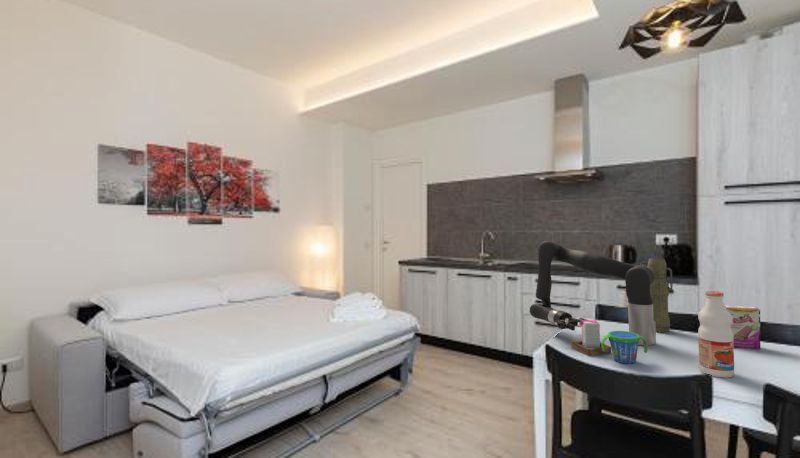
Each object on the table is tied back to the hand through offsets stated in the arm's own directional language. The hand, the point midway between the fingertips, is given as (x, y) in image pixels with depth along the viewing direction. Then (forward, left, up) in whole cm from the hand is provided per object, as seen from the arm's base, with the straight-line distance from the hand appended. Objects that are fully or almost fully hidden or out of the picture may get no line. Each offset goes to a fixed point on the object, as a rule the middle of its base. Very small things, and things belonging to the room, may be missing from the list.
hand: (583, 327), depth 164 cm
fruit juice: (-24, +37, -9) cm, 45 cm away
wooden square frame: (0, +5, -8) cm, 10 cm away
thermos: (-49, -11, -9) cm, 51 cm away
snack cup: (-4, +18, -9) cm, 21 cm away
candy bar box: (-60, +18, -9) cm, 63 cm away
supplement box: (0, +4, -8) cm, 9 cm away
